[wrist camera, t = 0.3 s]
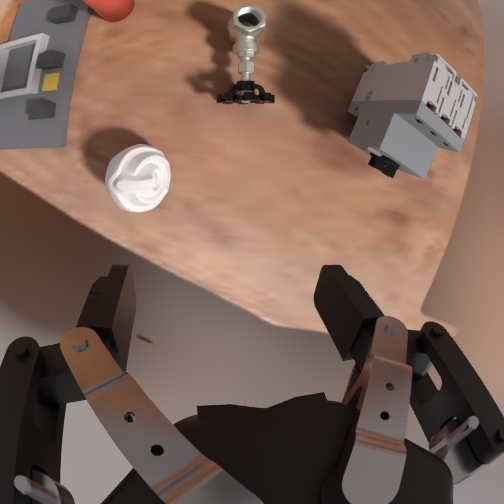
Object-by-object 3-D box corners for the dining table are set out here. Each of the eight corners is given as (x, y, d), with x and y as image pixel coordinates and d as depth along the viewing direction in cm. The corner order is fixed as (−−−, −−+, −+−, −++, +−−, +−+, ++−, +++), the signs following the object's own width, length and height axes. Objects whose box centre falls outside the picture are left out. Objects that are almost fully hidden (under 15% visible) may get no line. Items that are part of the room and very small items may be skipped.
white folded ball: (172, 201, 36) (164, 221, 30) (118, 201, 35) (99, 221, 28) (173, 141, 33) (164, 145, 26) (116, 142, 32) (95, 149, 25)
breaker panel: (25, 5, 18) (12, -1, 14) (99, -12, 21) (90, -22, 17) (-3, 148, 28) (-18, 153, 24) (65, 146, 30) (52, 149, 27)
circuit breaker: (330, 150, 36) (393, 170, 23) (366, 65, 31) (437, 51, 18) (372, 172, 38) (439, 201, 25) (404, 92, 33) (477, 93, 20)
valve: (216, 20, 27) (216, 104, 32) (218, 1, 21) (217, 100, 26) (268, 22, 28) (268, 104, 33) (280, 4, 22) (281, 101, 27)
